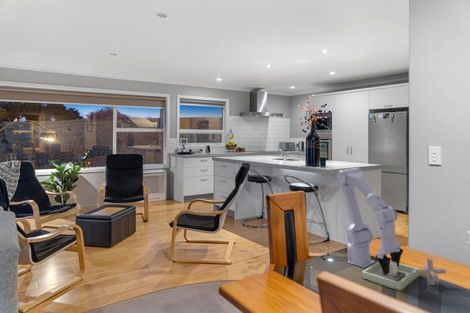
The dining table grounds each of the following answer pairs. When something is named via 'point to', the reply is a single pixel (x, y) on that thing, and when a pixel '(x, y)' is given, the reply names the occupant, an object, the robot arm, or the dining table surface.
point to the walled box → (400, 282)
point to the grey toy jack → (430, 271)
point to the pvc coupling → (393, 270)
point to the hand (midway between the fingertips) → (391, 269)
